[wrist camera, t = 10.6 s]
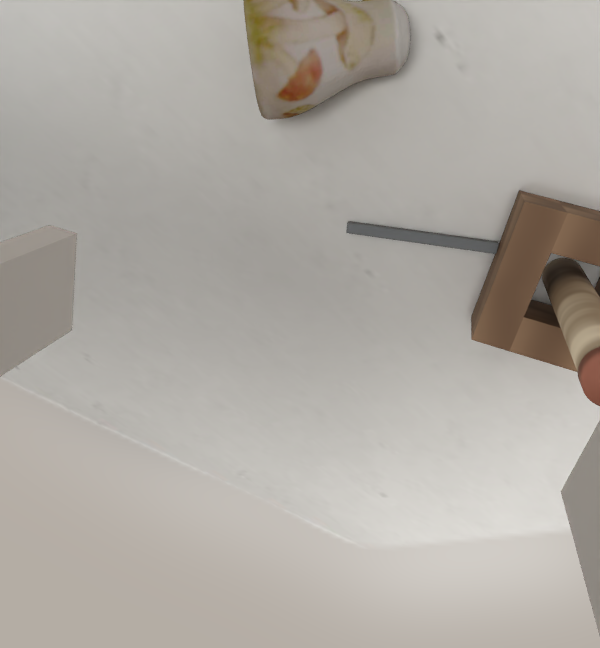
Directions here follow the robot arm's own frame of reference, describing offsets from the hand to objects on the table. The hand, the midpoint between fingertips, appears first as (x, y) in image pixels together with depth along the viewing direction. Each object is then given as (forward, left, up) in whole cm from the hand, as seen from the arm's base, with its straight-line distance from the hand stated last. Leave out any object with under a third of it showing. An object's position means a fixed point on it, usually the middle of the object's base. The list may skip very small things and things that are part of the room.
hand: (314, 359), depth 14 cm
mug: (-7, +7, -27) cm, 29 cm away
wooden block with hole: (+11, -3, -27) cm, 29 cm away
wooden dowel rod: (+11, -3, -27) cm, 29 cm away
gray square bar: (+1, -3, -27) cm, 27 cm away
